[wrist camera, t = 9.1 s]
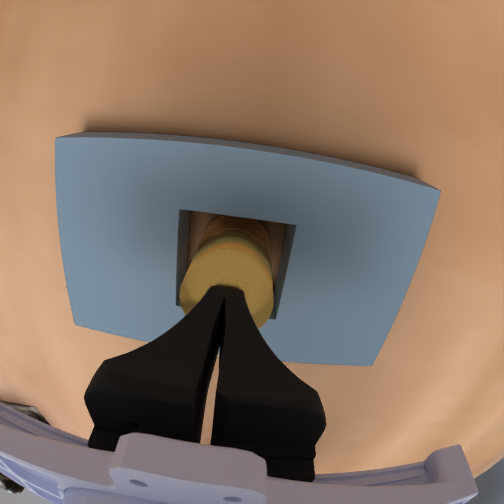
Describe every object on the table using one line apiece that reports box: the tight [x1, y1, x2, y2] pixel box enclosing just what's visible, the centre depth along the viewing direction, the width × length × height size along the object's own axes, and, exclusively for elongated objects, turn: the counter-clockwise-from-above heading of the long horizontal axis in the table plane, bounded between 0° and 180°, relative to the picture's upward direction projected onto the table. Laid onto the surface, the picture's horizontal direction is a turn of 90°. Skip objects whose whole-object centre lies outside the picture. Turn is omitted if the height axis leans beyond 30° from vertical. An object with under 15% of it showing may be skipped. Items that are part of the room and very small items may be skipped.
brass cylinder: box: [179, 215, 274, 329], centre depth 16 cm, size 4×4×6 cm
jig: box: [55, 132, 441, 366], centre depth 17 cm, size 12×20×3 cm, turn 82°
